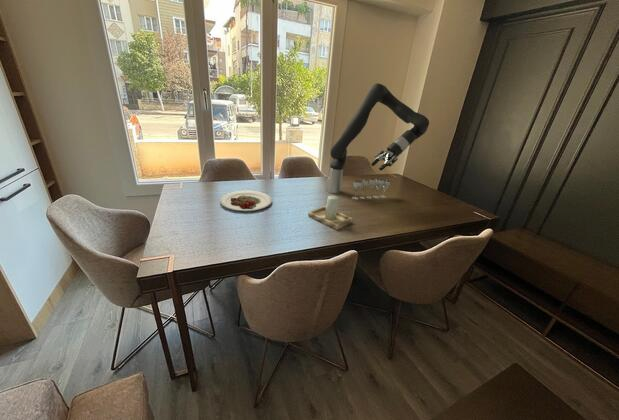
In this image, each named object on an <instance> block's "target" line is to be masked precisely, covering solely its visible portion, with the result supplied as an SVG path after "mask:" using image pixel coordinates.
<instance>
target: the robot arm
mask: <svg viewBox="0 0 619 420" xmlns="http://www.w3.org/2000/svg"><path fill="white" fill-rule="evenodd" d="M377 103H380V104H382V105H384V106H386V107H387V108H389V109H390V111H392V112H393V113H394V115H396V116H397V117H398V118H399V119H400V120H401V121H403V122H405V123H406V124H412V125H413V127H412V128H410V129H408V130H407V129H406V131H404V132H403V133H401V135H400V136H398V137H397V138H396V139H395V140H394V141H393V142H392V143H391V144H389V145H388V146H387V148H386V150H385V151H384V150H383V149H381V150H380V151H379V152H378V153H377V154H376V155H375V156H374V158H375V159H374V160H373V161H372V162H370V165H371V166H372V167H374V166H376V165H377V164H378V162H382V161H384V163H382V164H381V165H380V166H379V167H378V169H379V171H380V172H382V171H383V170H385V168H386V167H392V166H393V165H394V164H395V163H396V162H397V161H398V160H399V158H398V157H399V156H400V155H401V154H402V153H404V152H405V151H406V150H407V148H408V147H409V146H410V145H412V144H413V143H414V141H416V140H418V139H419V138H421V137H422V136H423V135H425V133H426V132H427V131H428V127H429V126H430V120H429V119H428V117H427V116H426V115H423V114H422V113H419V112H416V111H414V110H413V109H412V108H410V106H408V105H406V104H405V103H404V102H402V101H400V100H399V99H398V98H397V97H396V96H395V95H393V94H392V92H391V91H390V90H389V89H388V87H386V86H385V85H384V84H383V83H379V82H378V83H377V82H376V83H374V84H373V85H371V86H370V88H369V89H368V91H367V93H366V95H365V97H364V99H363V101H362V102H361V104H360V105H359V107H358V109H357V110H356V112H355V113H354V114H353V116H352V117H351V119H350V121H349V122H348V123H347V125H346V127H345V129H344V130H343V132H342V133H341V135H340V137H339V138H338V140H337V141H336V142H335V143H334V144H333V146H332V147H331V149H330V157H331V158H332V160H331V162H330V166H329V173H328V177H327V180H326V186H325V191H327V192H328V193H330V194H339V193H341V187H342V180H343V179H342V178H343V174H344V167H345V165H346V161H347V155H348V150H347V149H348V147H349V145H350V144H351V143H352V142H353V141H354V140H355V139H356V137H358V135H360V133H361V132H362V130H363V129H364V128H365V126H366V124H367V122H368V119H369V117H370V114H371V111H372V110H373V108H374V107H375V106H376V105H377Z"/></svg>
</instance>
